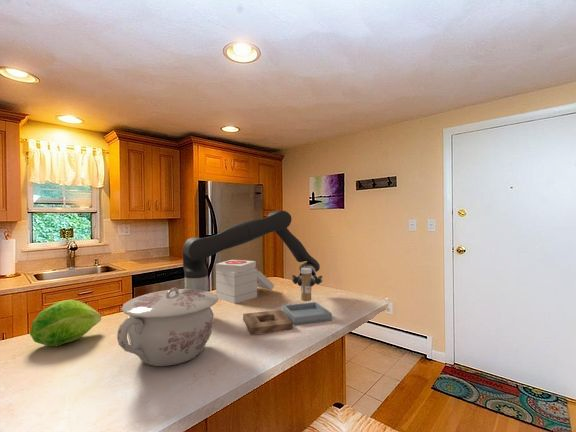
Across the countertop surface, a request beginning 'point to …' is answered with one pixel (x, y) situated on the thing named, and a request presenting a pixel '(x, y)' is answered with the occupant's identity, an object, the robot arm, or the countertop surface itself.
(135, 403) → the countertop surface
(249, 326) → the socket board
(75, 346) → the countertop surface
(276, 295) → the countertop surface
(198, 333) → the chamber pot
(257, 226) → the robot arm
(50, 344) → the green papaya
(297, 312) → the parts tray
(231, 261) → the pizza boxes
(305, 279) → the spice jar
